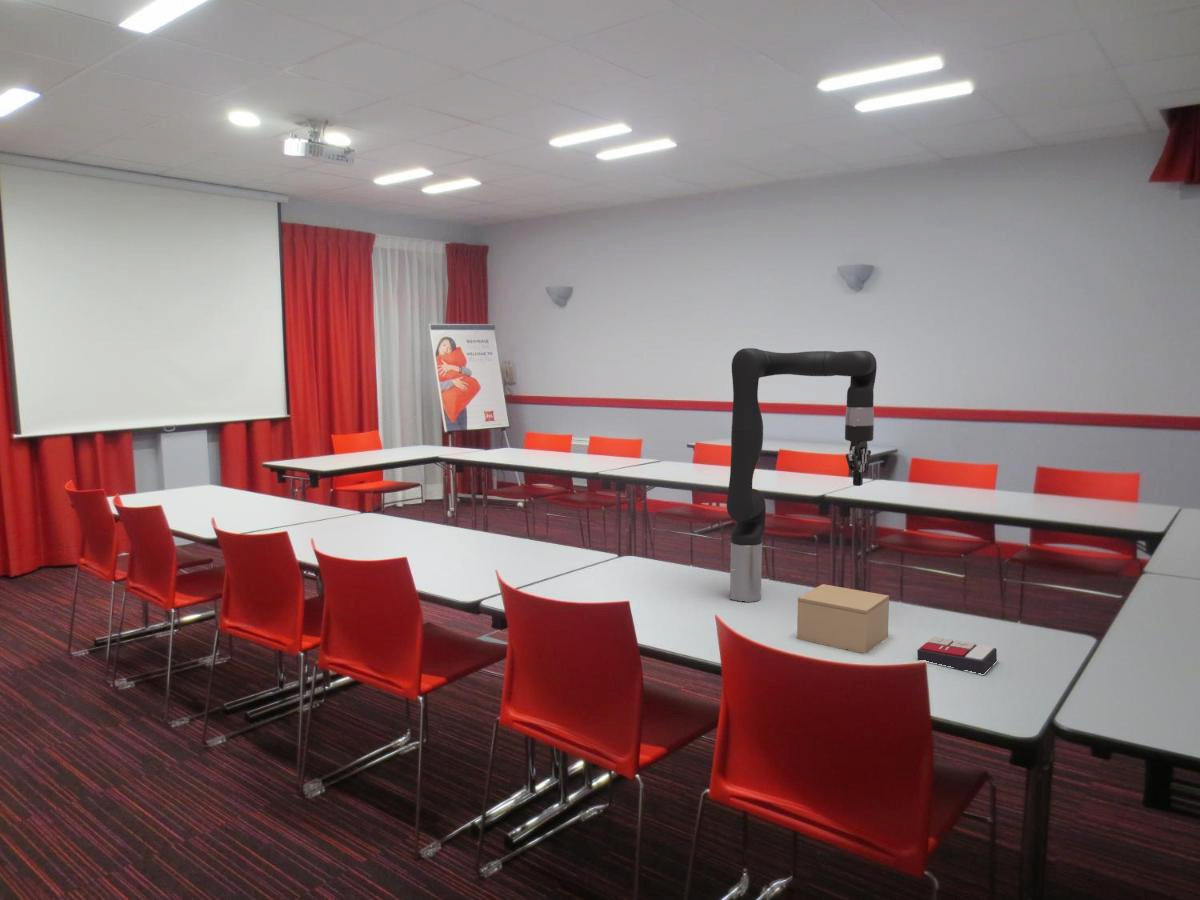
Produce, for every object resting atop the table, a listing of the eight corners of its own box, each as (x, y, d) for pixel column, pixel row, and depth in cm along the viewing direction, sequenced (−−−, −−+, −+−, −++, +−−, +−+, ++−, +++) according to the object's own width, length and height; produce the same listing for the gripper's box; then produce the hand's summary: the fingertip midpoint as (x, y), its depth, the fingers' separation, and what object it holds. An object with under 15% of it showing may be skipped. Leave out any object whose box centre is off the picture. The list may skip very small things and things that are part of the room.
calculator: (932, 634, 201) (997, 645, 191) (932, 651, 202) (997, 662, 192) (916, 646, 193) (983, 658, 183) (917, 664, 193) (983, 676, 184)
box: (822, 622, 221) (823, 587, 220) (887, 636, 210) (889, 598, 209) (797, 638, 209) (797, 601, 208) (865, 653, 198) (866, 614, 196)
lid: (822, 586, 220) (822, 584, 220) (888, 598, 209) (888, 595, 209) (797, 600, 208) (797, 597, 208) (866, 613, 196) (866, 610, 196)
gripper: (855, 421, 229) (853, 481, 231) (836, 424, 219) (835, 487, 221) (881, 422, 225) (879, 483, 227) (863, 425, 214) (862, 489, 216)
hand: (857, 485), depth 224 cm, fingers closed
